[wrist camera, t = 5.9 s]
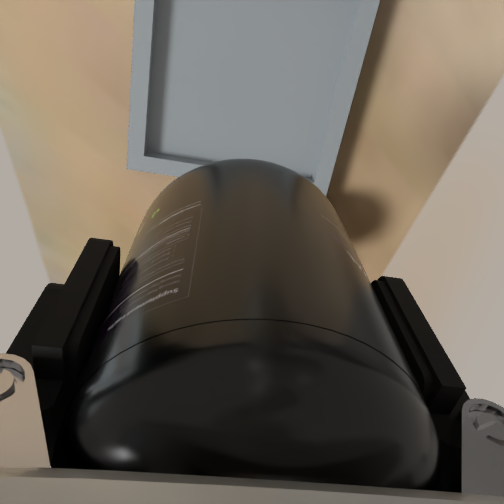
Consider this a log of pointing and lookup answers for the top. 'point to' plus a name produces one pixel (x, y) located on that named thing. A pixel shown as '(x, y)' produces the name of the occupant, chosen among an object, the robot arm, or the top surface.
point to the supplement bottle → (248, 347)
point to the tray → (244, 82)
